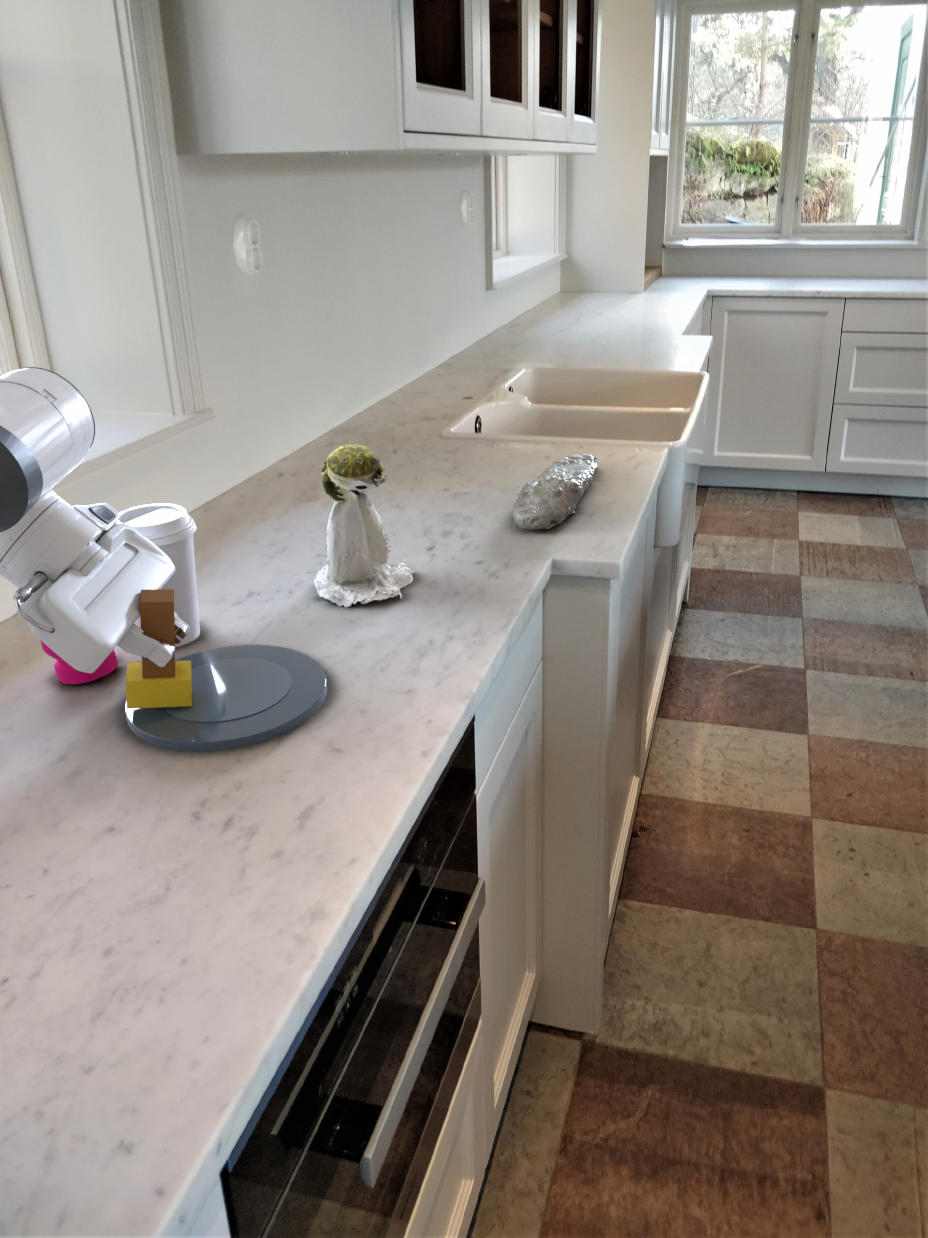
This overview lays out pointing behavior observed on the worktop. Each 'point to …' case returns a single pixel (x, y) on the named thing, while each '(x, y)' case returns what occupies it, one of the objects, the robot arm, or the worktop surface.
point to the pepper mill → (74, 676)
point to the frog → (356, 532)
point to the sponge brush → (146, 678)
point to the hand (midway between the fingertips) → (177, 647)
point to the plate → (236, 700)
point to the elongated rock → (554, 492)
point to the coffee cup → (172, 555)
